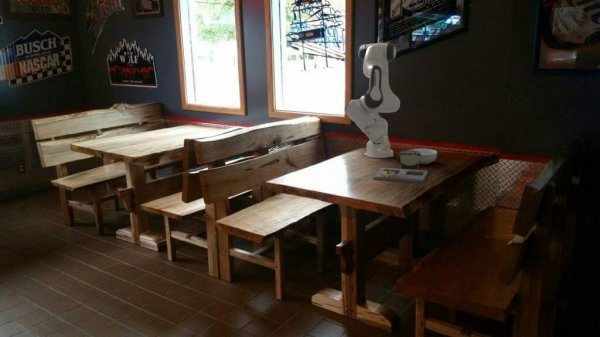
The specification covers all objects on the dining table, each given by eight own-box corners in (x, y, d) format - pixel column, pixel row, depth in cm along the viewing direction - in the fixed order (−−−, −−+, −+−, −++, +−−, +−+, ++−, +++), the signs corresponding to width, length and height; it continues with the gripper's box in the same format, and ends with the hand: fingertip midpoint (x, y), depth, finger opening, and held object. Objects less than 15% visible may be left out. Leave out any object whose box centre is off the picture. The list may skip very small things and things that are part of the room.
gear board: (381, 170, 280) (381, 161, 279) (427, 173, 271) (428, 164, 270) (373, 179, 262) (373, 170, 261) (423, 182, 253) (423, 173, 252)
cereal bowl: (406, 165, 290) (406, 153, 288) (409, 159, 305) (409, 148, 304) (436, 166, 285) (436, 154, 283) (437, 160, 300) (437, 149, 299)
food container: (421, 167, 285) (421, 150, 282) (420, 169, 279) (421, 152, 276) (399, 166, 288) (399, 149, 285) (398, 169, 282) (399, 152, 280)
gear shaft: (378, 150, 274) (378, 134, 272) (391, 151, 271) (392, 135, 269) (375, 153, 267) (375, 136, 265) (389, 153, 265) (389, 137, 262)
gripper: (367, 124, 258) (385, 143, 257) (376, 118, 277) (393, 136, 276) (358, 132, 261) (376, 151, 260) (368, 126, 279) (385, 143, 278)
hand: (385, 143), depth 268 cm, fingers closed on gear shaft, 4 cm apart
